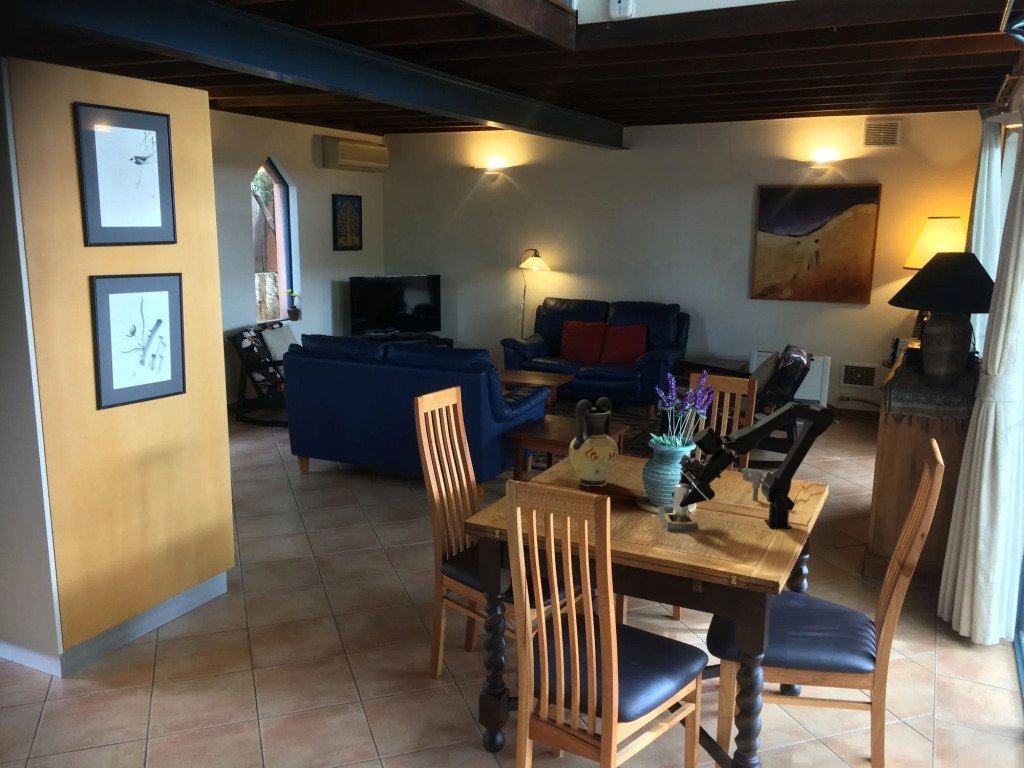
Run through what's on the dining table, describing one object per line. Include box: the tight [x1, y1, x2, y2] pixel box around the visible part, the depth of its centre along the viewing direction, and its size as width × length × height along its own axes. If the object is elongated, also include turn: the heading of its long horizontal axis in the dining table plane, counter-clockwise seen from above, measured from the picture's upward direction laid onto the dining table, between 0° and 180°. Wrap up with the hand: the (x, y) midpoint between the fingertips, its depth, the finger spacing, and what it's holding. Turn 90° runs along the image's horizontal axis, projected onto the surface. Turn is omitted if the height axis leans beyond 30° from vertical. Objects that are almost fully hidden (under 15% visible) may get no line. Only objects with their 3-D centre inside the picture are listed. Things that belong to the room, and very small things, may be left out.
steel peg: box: [672, 482, 690, 522], centre depth 250 cm, size 4×4×12 cm
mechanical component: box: [740, 467, 766, 501], centre depth 275 cm, size 3×10×10 cm, turn 53°
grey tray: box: [657, 505, 699, 532], centre depth 254 cm, size 16×9×2 cm, turn 0°
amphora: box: [568, 396, 619, 487], centre depth 289 cm, size 18×17×30 cm
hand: (676, 501), depth 249 cm, fingers open, 9 cm apart
